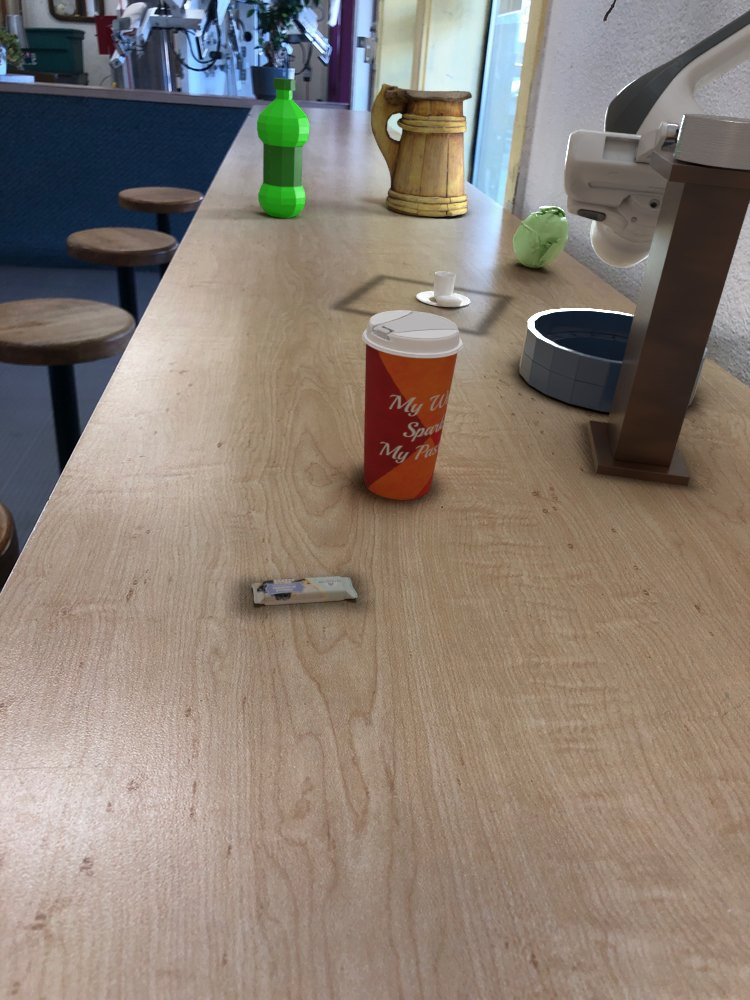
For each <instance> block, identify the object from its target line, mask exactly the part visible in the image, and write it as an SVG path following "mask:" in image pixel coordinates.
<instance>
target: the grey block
mask: <svg viewBox="0 0 750 1000" xmlns="http://www.w3.org/2000/svg"><path fill="white" fill-rule="evenodd" d="M676 132H677V137H676V141H675V144H676V148H675V152H674V156H673V157H674V158H675V159H677V160H681V161H685V162H690V163H695V164H701V165H708V166H715V167H723V168H732V169H743V170H750V118H745V117H744V118H743V117H736V116H725V115H715V114H707V115H703V114H684V116H683V120H682V124H681V127H680V126H678V129H677V131H676Z"/></svg>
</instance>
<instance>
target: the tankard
mask: <svg viewBox="0 0 750 1000" xmlns="http://www.w3.org/2000/svg"><path fill="white" fill-rule="evenodd" d="M472 98H473V95H472V93H471V92H470V91H467V90H417V89H416V90H415V89H409V88H402V87H399V86H398V85H390V84H387V83H382V84H381V88H380V89H379V92H378V94H377V95H376V96H375V99H374V101H373V103H372V107H371V111H370V125H371V126H370V127H371V132H372V135H373V137H374V138H373V139H374V140H375V143H376V145H377V147H378V149H379V151H380V153H381V155H382V157H383V159H384V161H385V163H386V166H387V169H388V172H389V176H390V187H389V188H388V191H387V196H386V197H385V203H386V205H387V206H388V209H389V210H391V211H393V212H396V213H398V214H405V215H410V216H419V217H432V218H433V217H434V218H435V217H455V216H461V215H464V214H466V213H467V212H468V211H469V207H468V205H469V201H468V195H467V194H466V187H465V136H464V135H465V134H464V133H466V132H467V128H468V127H467V116H465V115H464V101H468V100H470V99H472ZM397 114H400V115H401V117H400V118H399V119H397V121H396V125H397V126H398V127H399V128H401V129H402V130H401V135H400V138H399V140H397V139H394V138H393V137H391V135H390V133H389V130H388V125H389V121H390V119H391V117H392V116H394V115H397Z"/></svg>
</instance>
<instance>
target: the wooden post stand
mask: <svg viewBox="0 0 750 1000" xmlns="http://www.w3.org/2000/svg"><path fill="white" fill-rule="evenodd" d="M673 156H674V152H664V151H654V150H653V151H652V155H651V159H650V163H649V166H650V167H652V168H653V169H654V170H655V171H657V172H658V173H659V174H660V175H662V176H663V177H664V178H665V179H667V184H666V188H665V192H664V196H663V200H662V204H661V208H660V212H659V216H658V220H657V224H656V228H655V232H654V236H653V241H652V245H651V249H650V253H649V256H648V257H647V261H646V266H645V269H644V273H643V277H642V281H641V286H640V289H639V293H638V298H637V301H636V306H635V310H634V314H633V315H634V317H633V321H632V325H631V329H630V333H629V337H628V341H627V345H626V349H625V354H624V358H623V362H622V366H621V370H620V374H619V378H618V382H617V386H616V390H615V394H614V398H613V402H612V406H611V410H610V412H609V414H608V417H607V422H605V421H598V420H588V424H587V428H586V429H587V433H588V439H589V445H590V450H591V456H592V460H593V466H594V471H595V474H598V475H603V476H611V477H618V478H625V479H633V480H639V481H647V482H653V483H661V484H668V485H676V486H682V487H688V485H689V482H690V479H691V477H690V474H689V472H688V469H687V467H686V464H685V462H684V459H683V457H682V454H681V452H680V450H679V448H678V441H679V438H680V435H681V431H682V429H683V425H684V421H685V417H686V415H687V412H688V408H689V406H688V405H689V402H690V398H691V395H692V392H693V388H694V385H695V382H696V378H697V375H698V372H699V368H700V365H701V362H702V358H703V355H704V352H705V348H707V346H708V342H709V338H710V336H711V332H712V329H713V324H714V321H715V318H716V315H717V312H718V309H719V305H720V302H721V298H722V294H723V291H724V288H725V285H726V283H727V282H726V281H727V278H728V274H729V272H730V268H731V265H732V263H733V262H732V261H733V259H734V255H735V252H736V249H737V246H738V241H739V239H740V234H741V231H742V229H743V225H744V221H745V219H746V215H747V212H748V208H749V206H750V204H749V202H750V170H743V169H732V168H723V167H715V166H708V165H701V164H695V163H690V162H685V161H681V160H677V159H675V158H674V157H673Z"/></svg>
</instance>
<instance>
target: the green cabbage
mask: <svg viewBox="0 0 750 1000" xmlns="http://www.w3.org/2000/svg"><path fill="white" fill-rule="evenodd" d="M538 209H539V210H540V211H534V212H532V213H530V214H529V215H528V217H526V218H525V219H524V220H523V221H520V222H519V224H520V225H519V226H518V228H517V229H516V232H515V233H514V235H513V236H512V237H513V238H512V246H513V252H514V254H515V256H516V258H517V260H518V262H519V263H520V264H521V265H523V266H524V267H526V268H529V269H541V268H542V267H545V266H547V265H548V264H551V262H553V261H554V260H555V259H556V258H557V257H559V255H560V254H561V253H562V252H563V250H564V249H565V247H566V244H568V243H567V242H568V241H569V235H570V226H569V222H568V220H567V218H566V212H565V210H563V208H561V207H559V206H554V205H543V206H539V207H538Z"/></svg>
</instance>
